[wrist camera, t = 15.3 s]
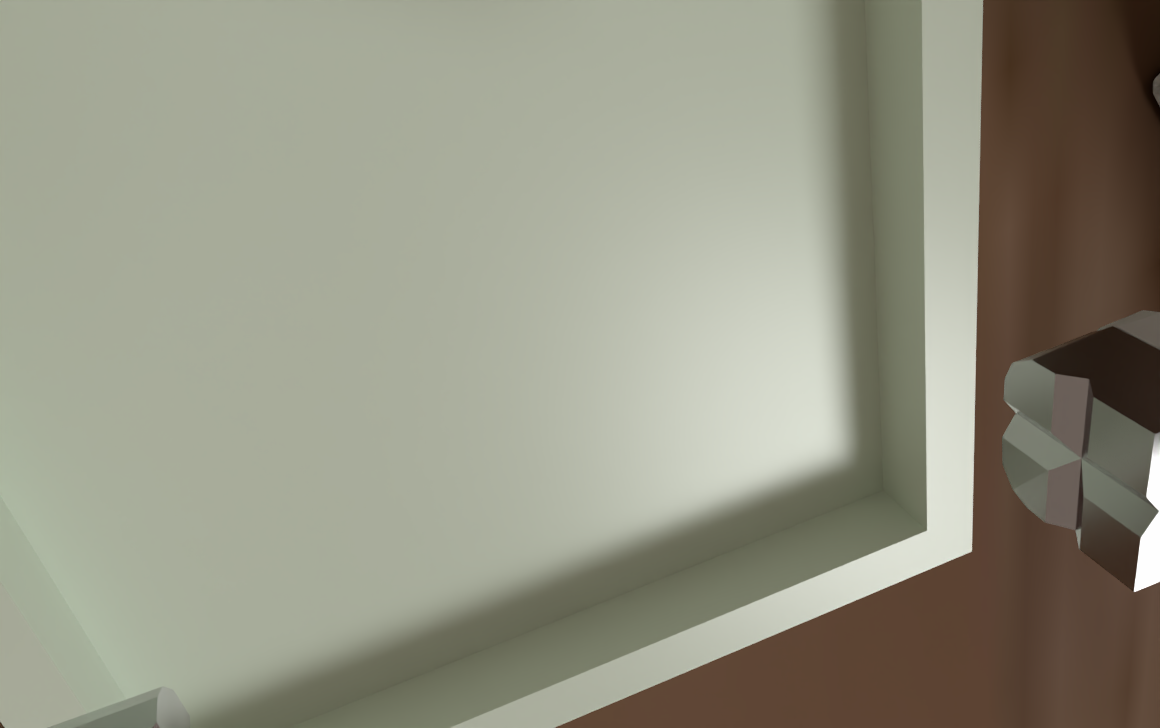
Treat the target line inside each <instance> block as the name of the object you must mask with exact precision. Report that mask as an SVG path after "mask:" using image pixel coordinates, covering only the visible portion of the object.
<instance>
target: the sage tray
mask: <svg viewBox="0 0 1160 728" xmlns="http://www.w3.org/2000/svg"><path fill="white" fill-rule="evenodd" d="M982 25H983V0H0V722H1V723H2V725H3V726H4V727H5V728H48V727H50V726H53V725H56V724H59V723H62V722H64V721H67V720H70V719H73V718H76V717H78V716H81V715H84V714H87V713H90V712H92V711H95V710H98V709H101V708H104V707H106V706H109V705H112V704H115V703H118V702H120V701H123V700H126V699H129V698H132V697H134V696H137V695H140V694H143V693H146V692H149V691H151V690H154V689H157V688H160V687H163V686H164V687H167V688H170V689H173V690H174V692H175V693H176V695H177V696H178V698H179V700H180V701H181V703H182V704H183V706H184V708H185V709H186V711H187V712H188V714H189V715H190V728H555V727H557V726H559V725H562V724H564V723H566V722H569V721H571V720H574V719H576V718H578V717H581V716H583V715H585V714H588V713H590V712H593V711H595V710H597V709H600V708H602V707H604V706H607V705H609V704H611V703H614V702H616V701H619V700H621V699H623V698H626V697H628V696H630V695H633V694H635V693H638V692H640V691H642V690H645V689H647V688H649V687H652V686H654V685H656V684H659V683H661V682H664V681H666V680H668V679H671V678H673V677H675V676H678V675H680V674H683V673H685V672H687V671H690V670H692V669H694V668H697V667H699V666H701V665H704V664H706V663H709V662H711V661H713V660H716V659H718V658H720V657H723V656H725V655H728V654H730V653H732V652H735V651H737V650H739V649H742V648H744V647H746V646H749V645H751V644H754V643H756V642H758V641H761V640H763V639H765V638H768V637H770V636H773V635H775V634H777V633H780V632H782V631H784V630H787V629H789V628H791V627H794V626H796V625H799V624H801V623H803V622H806V621H808V620H810V619H813V618H815V617H818V616H820V615H822V614H825V613H827V612H829V611H832V610H834V609H837V608H839V607H841V606H844V605H846V604H848V603H851V602H853V601H855V600H858V599H860V598H863V597H865V596H867V595H870V594H872V593H874V592H877V591H879V590H882V589H884V588H886V587H889V586H891V585H893V584H896V583H898V582H900V581H903V580H905V579H908V578H910V577H912V576H915V575H917V574H919V573H922V572H924V571H927V570H929V569H931V568H934V567H936V566H938V565H941V564H943V563H945V562H948V561H950V560H953V559H955V558H957V557H960V556H962V555H964V554H967V553H969V552H972V521H973V471H974V422H975V372H976V322H977V273H978V223H979V174H980V124H981V75H982Z"/></svg>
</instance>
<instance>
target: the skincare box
mask: <svg viewBox="0 0 1160 728" xmlns="http://www.w3.org/2000/svg"><path fill="white" fill-rule="evenodd" d="M1153 94H1154V96H1155V99H1156V101H1157V102H1158V104H1159V106H1160V74H1159V75H1158V76H1157V77H1156V78H1155V79H1154V81H1153Z"/></svg>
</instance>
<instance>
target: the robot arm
mask: <svg viewBox="0 0 1160 728" xmlns="http://www.w3.org/2000/svg"><path fill="white" fill-rule="evenodd" d="M1004 401H1005V402H1006V403H1007V404H1008V405H1009V406H1010V407H1011V408H1012V409H1013V410H1014V411H1015V412H1016V414H1015V416H1014V418H1013V419H1012V421H1011V423H1010V424H1009V426H1008V428H1007V430H1006V431H1005V433H1004V435H1003V437H1002V452H1003V466H1004V469H1005V471H1006V474H1007V476H1008V479H1009V481H1010V484H1011V486H1012V489H1013V490H1014V492H1015V493H1016V494H1017V496H1018V497H1019V498H1020V499H1021V501H1022V502H1023V503H1024V505H1025V506H1026V507H1027V508H1028V509H1029V510H1031V511H1032V512H1033V513H1034V514H1036V515H1037V516H1038V517H1039V518H1040V519H1042V520H1043V521H1044V522H1046V523H1050V524H1054V525H1057V526H1061V527H1065V528H1069V529H1073V530H1076V535H1077V540H1078V545H1079V549H1080V550H1081V551H1082V552H1083V553H1085V554H1086V555H1087V556H1088V557H1090V558H1091V559H1092V560H1094V561H1095V562H1096V563H1097V564H1099V565H1100V566H1101V567H1103V568H1104V569H1105V570H1106V571H1108V572H1109V573H1110V574H1111V575H1113V576H1114V577H1115V578H1117V579H1118V580H1119V581H1120V582H1122V583H1123V584H1124V585H1126V586H1127V587H1128V588H1129V589H1131V590H1132V591H1133V592H1135V591H1138V590H1140V589H1143V588H1145V587H1147V586H1150V585H1152V584H1155V583H1157V582H1160V312H1153V311H1140V312H1138V313H1135V314H1133V315H1130V316H1128V317H1125V318H1123V319H1120V320H1118V321H1115V322H1113V323H1111V324H1108V325H1106V326H1103V327H1101V328H1099V329H1098V330H1097V331H1094V332H1091V333H1088V334H1086V335H1083V336H1081V337H1078V338H1076V339H1073V340H1070V341H1068V342H1065V343H1063V344H1060V345H1058V346H1055V347H1052V348H1050V349H1047V350H1045V351H1042V352H1040V353H1037V354H1034V355H1032V356H1029V357H1027V358H1024V359H1022V360H1019V361H1016V362H1014V363H1012V365H1011V367H1010V369H1009V371H1008V373H1007V375H1006V377H1005V386H1004ZM48 728H190V715H189V714H188V712H187V711H186V709H185V708H184V706H183V704H182V703H181V701H180V700H179V698H178V696H177V695H176V693H175V692H174V690H173V689H170V688H167V687H164V686H163V687H160V688H157V689H154V690H151V691H149V692H146V693H143V694H140V695H137V696H134V697H132V698H129V699H126V700H123V701H120V702H118V703H115V704H112V705H109V706H106V707H104V708H101V709H98V710H95V711H92V712H90V713H87V714H84V715H81V716H78V717H76V718H73V719H70V720H67V721H64V722H62V723H59V724H56V725H53V726H50V727H48Z"/></svg>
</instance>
